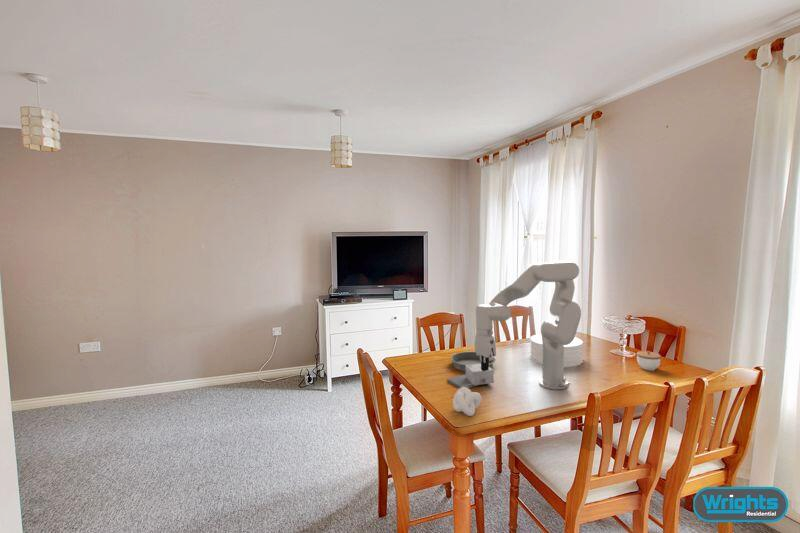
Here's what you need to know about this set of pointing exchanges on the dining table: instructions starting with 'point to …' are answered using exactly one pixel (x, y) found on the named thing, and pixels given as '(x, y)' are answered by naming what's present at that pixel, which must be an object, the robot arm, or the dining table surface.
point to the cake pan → (467, 360)
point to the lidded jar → (648, 360)
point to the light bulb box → (479, 374)
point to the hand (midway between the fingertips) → (484, 370)
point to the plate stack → (570, 351)
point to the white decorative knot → (466, 401)
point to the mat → (460, 381)
